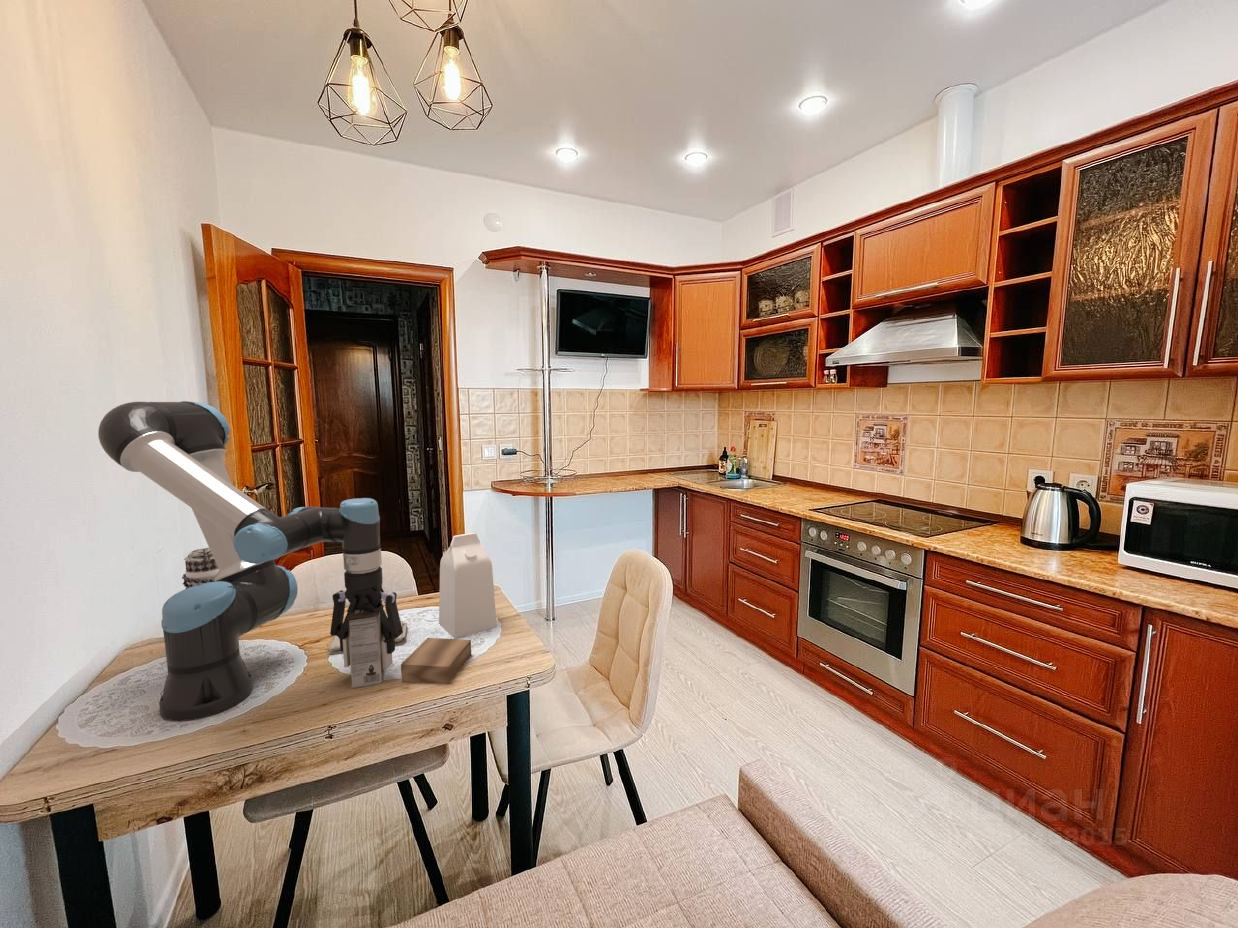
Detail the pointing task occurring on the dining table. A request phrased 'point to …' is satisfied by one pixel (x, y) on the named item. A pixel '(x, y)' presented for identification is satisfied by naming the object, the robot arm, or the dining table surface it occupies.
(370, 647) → the coffee box
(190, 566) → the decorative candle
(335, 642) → the washcloth
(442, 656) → the pedestal
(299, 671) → the dining table surface
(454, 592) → the milk
